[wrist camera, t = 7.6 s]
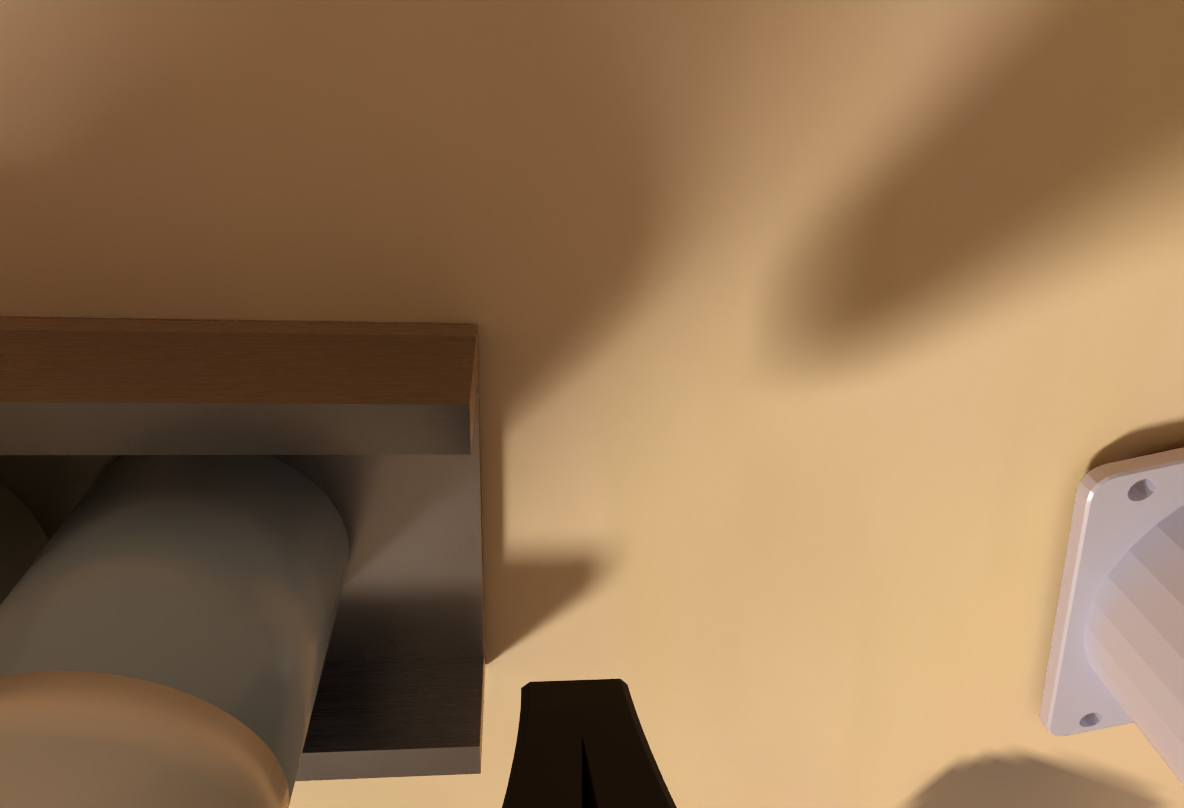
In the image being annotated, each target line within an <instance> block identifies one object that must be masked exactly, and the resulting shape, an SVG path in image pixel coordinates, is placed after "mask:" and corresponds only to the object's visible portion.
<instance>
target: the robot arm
mask: <svg viewBox="0 0 1184 808" xmlns="http://www.w3.org/2000/svg"><path fill="white" fill-rule="evenodd" d="M1040 720H1041V722H1042V723H1043V725H1044V726H1045V728H1046V729H1047V731H1048V732H1049V733H1051V734H1052V735H1057V736H1068V735H1073V734H1078V733H1083V732H1088V731H1093V730H1098V729H1103V728H1108V727H1113V726H1118V725H1123V724H1128V723H1133V722H1134V723H1135V725H1136V726H1137V727H1138V728H1139V730H1140V731H1141V732H1142V734H1143V735H1144V736H1145V737H1146V739H1147V740H1148V741H1149V743H1150V744H1151V745H1152V747H1153V748H1154V749H1155V750H1156V752H1157V753H1158V754H1159V756H1160V757H1161V758H1162V759H1163V761H1164V762H1165V763H1166V765H1167V766H1168V767H1169V769H1170V770H1171V771H1172V772H1173V774H1174V775H1175V776H1176V778H1177V779H1178V780H1179V782H1180V783H1181V784H1182V785H1183V787H1184V447H1183V448H1178V449H1173V450H1169V451H1164V452H1159V453H1154V454H1150V455H1145V456H1140V457H1136V458H1131V459H1126V460H1121V461H1117V462H1112V463H1107V464H1104V465H1101V466H1098V467H1095V468H1094V469H1092V470H1091V471H1089V472H1088V473H1087V474H1086V475H1085V476H1084V477H1083V478H1082V479H1081V481H1080V483H1079V486H1078V488H1077V492H1076V498H1075V504H1074V510H1073V516H1072V522H1071V528H1070V534H1069V540H1068V546H1067V552H1066V558H1065V564H1064V570H1063V576H1062V583H1061V589H1060V595H1059V601H1058V607H1057V613H1056V619H1055V625H1054V631H1053V637H1052V643H1051V649H1050V655H1049V661H1048V667H1047V673H1046V679H1045V685H1044V691H1043V697H1042V703H1041V709H1040ZM502 808H677V807H676V805H675V803H674V801H673V799H672V797H671V795H670V793H669V791H668V788H667V786H666V784H665V782H664V780H663V777H662V775H661V773H660V770H659V768H658V766H657V763H656V761H655V759H654V757H653V754H652V752H651V750H650V747H649V745H648V742H647V740H646V737H645V735H644V732H643V729H642V727H641V724H640V721H639V719H638V716H637V713H636V710H635V707H634V704H633V701H632V698H631V695H630V692H629V688H628V685H627V684H626V683H625V682H624V681H622V680H621V679H601V680H573V681H544V682H529V683H528V684H527V685H525V686H524V687H522V688H521V712H520V721H519V729H518V736H517V742H516V748H515V754H514V759H513V763H512V768H511V773H510V778H509V782H508V787H507V791H506V795H505V799H504V802H503V806H502Z"/></svg>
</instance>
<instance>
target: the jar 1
mask: <svg viewBox="0 0 1184 808" xmlns="http://www.w3.org/2000/svg"><path fill="white" fill-rule="evenodd" d="M48 541H49V540H48V538H47V536H46V534H45V532H44V530H43V528H42V527H41V525H40V524H39V522H38V521H37V519H36V518H35V516H34V515H33V514H32V513H31V511H30V510H29V509H28V508H27V507H26V506H25V505H24V503H23V502H22V501H21V500H20V499H18V498H17V497H16V496H15V495H14V494H13V493H12V492H11V491H10V490H9V489H7V488H6V487H5V486H3V485H2V484H1V483H0V605H1V604H2V602H3V601H4V600H5V598H6V597H7V596H8V594H9V593H10V592H11V590H12V589H13V588H14V586H15V585H16V584H17V582H18V581H19V580H20V578H21V577H22V576H23V574H24V573H25V572H26V571H27V569H28V568H29V567H30V565H31V564H32V563H33V561H34V560H35V559H36V557H37V556H38V555H39V553H40V552H41V551H42V549H43V548H44V547H45V545H46V544H47V543H48Z"/></svg>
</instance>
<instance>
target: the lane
mask: <svg viewBox="0 0 1184 808" xmlns="http://www.w3.org/2000/svg"><path fill="white" fill-rule="evenodd" d="M125 455H270V456H272V457H274V458H276V459H278V460H280V461H282V462H284V463H286V464H288V465H290V466H291V467H293V468H294V469H296V470H298V471H299V472H301V473H302V474H303V475H305V476H306V477H307V478H308V479H310V480H311V481H312V482H313V483H315V484H316V485H317V486H318V487H319V488H320V489H321V490H322V491H323V492H324V493H325V494H326V496H327V497H328V498H329V499H330V501H331V502H332V503H333V505H334V506H335V507H336V509H337V511H338V513H339V515H340V516H341V518H342V520H343V523H344V526H345V528H346V531H347V535H348V540H349V554H350V557H349V563H348V569H347V573H346V577H345V581H344V585H343V589H342V593H341V597H340V601H339V605H338V609H337V614H336V618H335V622H334V626H333V630H332V634H331V638H330V642H329V646H328V650H327V654H326V658H325V662H324V666H323V670H322V674H321V678H320V682H319V686H318V690H317V694H316V698H315V702H314V706H313V710H312V714H311V718H310V722H309V726H308V730H307V734H306V739H305V743H304V747H303V751H302V755H301V759H300V763H299V767H298V771H297V775H296V779H295V781H309V780H333V779H358V778H382V777H406V776H430V775H455V774H479V773H481V752H482V729H483V706H484V683H485V639H484V595H483V551H482V506H481V462H480V418H479V374H478V329H477V325H463V324H398V323H333V322H268V321H202V320H137V319H72V318H7V317H0V483H1V484H2V485H3V486H5V487H6V488H7V489H9V490H10V491H11V492H12V493H13V494H14V495H15V496H16V497H17V498H18V499H20V500H21V501H22V502H23V503H24V505H25V506H26V507H27V508H28V509H29V510H30V511H31V513H32V514H33V515H34V516H35V518H36V519H37V521H38V522H39V524H40V525H41V527H42V528H43V530H44V532H45V534H46V536H47V538H48V540H50V539H51V538H52V536H53V535H54V534H55V532H56V531H57V530H58V528H59V527H60V526H61V524H62V523H63V522H64V520H65V519H66V518H67V516H68V515H69V514H70V512H71V511H72V510H73V508H74V507H75V506H76V504H77V503H78V502H79V501H80V499H81V498H82V497H83V495H84V494H85V493H86V491H87V490H88V489H89V487H90V486H91V485H92V483H93V482H94V481H95V480H96V479H97V477H98V476H99V475H100V474H101V473H102V472H103V471H104V470H105V469H106V468H108V467H109V466H110V465H111V464H112V463H114V462H115V461H117V460H119V459H120V458H122V457H124V456H125Z"/></svg>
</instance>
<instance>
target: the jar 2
mask: <svg viewBox="0 0 1184 808" xmlns="http://www.w3.org/2000/svg"><path fill="white" fill-rule="evenodd" d="M349 557H350V554H349V540H348V535H347V531H346V528H345V526H344V523H343V520H342V518H341V516H340V515H339V513H338V511H337V509H336V507H335V506H334V505H333V503H332V502H331V501H330V499H329V498H328V497H327V496H326V494H325V493H324V492H323V491H322V490H321V489H320V488H319V487H318V486H317V485H316V484H315V483H313V482H312V481H311V480H310V479H308V478H307V477H306V476H305V475H303V474H302V473H301V472H299V471H298V470H296V469H294V468H293V467H291V466H290V465H288V464H286V463H284V462H282V461H280V460H278V459H276V458H274V457H272V456H270V455H125V456H124V457H122V458H120V459H119V460H117V461H115V462H114V463H112V464H111V465H110V466H109V467H108V468H106V469H105V470H104V471H103V472H102V473H101V474H100V475H99V476H98V477H97V479H96V480H95V481H94V482H93V483H92V485H91V486H90V487H89V489H88V490H87V491H86V493H85V494H84V495H83V497H82V498H81V499H80V501H79V502H78V503H77V504H76V506H75V507H74V508H73V510H72V511H71V512H70V514H69V515H68V516H67V518H66V519H65V520H64V522H63V523H62V524H61V526H60V527H59V528H58V530H57V531H56V532H55V534H54V535H53V536H52V538H51V539H50V540H49V541H48V543H47V544H46V545H45V547H44V548H43V549H42V551H41V552H40V553H39V555H38V556H37V557H36V559H35V560H34V561H33V563H32V564H31V565H30V567H29V568H28V569H27V571H26V572H25V573H24V574H23V576H22V577H21V578H20V580H19V581H18V582H17V584H16V585H15V586H14V588H13V589H12V590H11V592H10V593H9V594H8V596H7V597H6V598H5V600H4V601H3V602H2V604H1V605H0V808H288V807H289V803H290V799H291V795H292V791H293V787H294V783H295V779H296V775H297V771H298V767H299V763H300V759H301V755H302V751H303V747H304V743H305V739H306V734H307V730H308V726H309V722H310V718H311V714H312V710H313V706H314V702H315V698H316V694H317V690H318V686H319V682H320V678H321V674H322V670H323V666H324V662H325V658H326V654H327V650H328V646H329V642H330V638H331V634H332V630H333V626H334V622H335V618H336V614H337V609H338V605H339V601H340V597H341V593H342V589H343V585H344V581H345V577H346V573H347V569H348V563H349Z"/></svg>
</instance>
